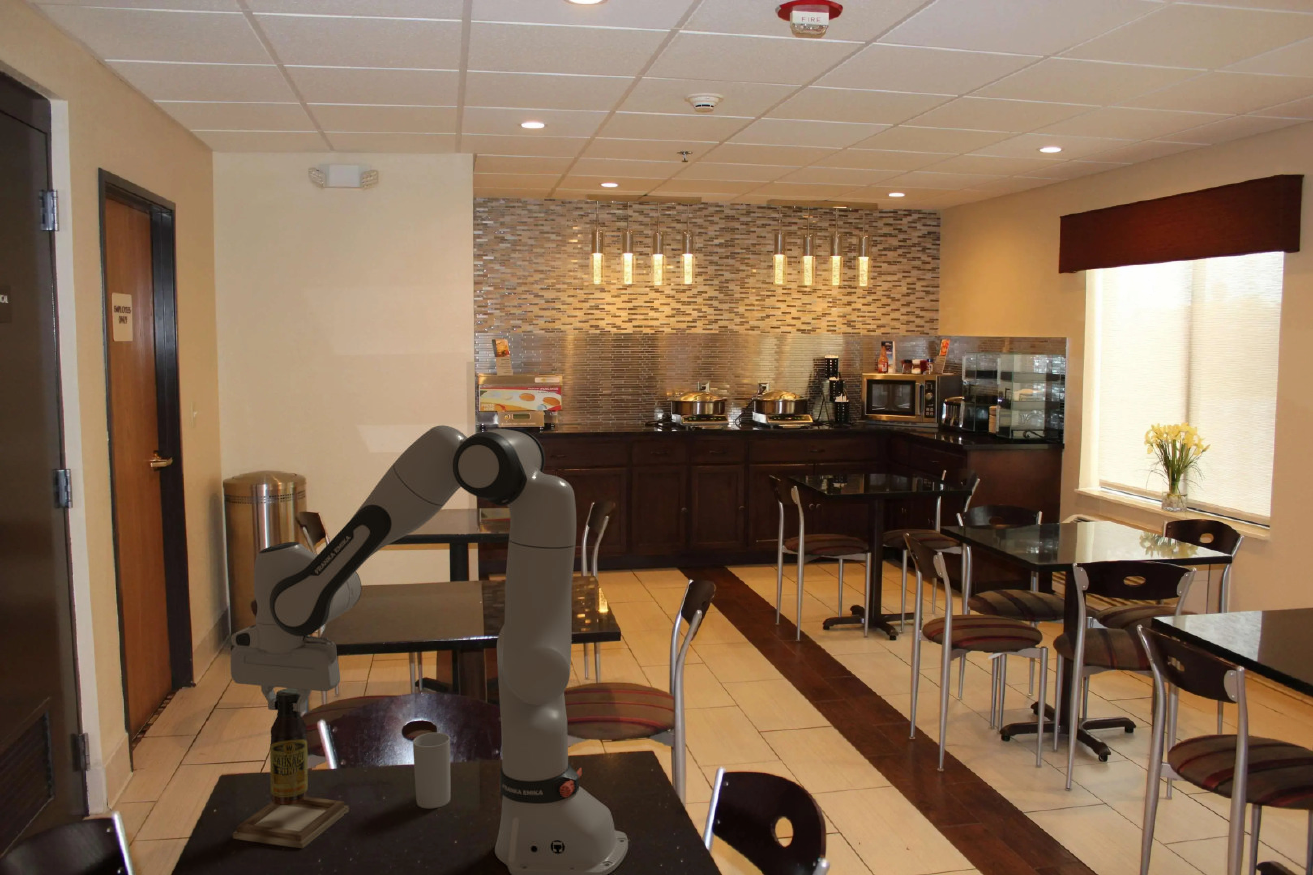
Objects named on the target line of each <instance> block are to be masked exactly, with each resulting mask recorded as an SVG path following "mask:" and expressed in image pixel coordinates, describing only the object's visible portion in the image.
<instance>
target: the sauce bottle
mask: <svg viewBox="0 0 1313 875" xmlns="http://www.w3.org/2000/svg"><path fill="white" fill-rule="evenodd" d="M275 694H276V700H277V707H278V710H277V712H276V718H275V720H274V722H273V724H272V726H271V727H270V743H269V744H270V745H269V746H270V747H269V750H270V753H269V755H270V756H269V758H270V760H269V762H270V763H269V764H270V766H269V767H270V773H269V774H270V794H271V795H270V796H271V799H270V800H271V802H273V803H275V804H277V805H291V804H294V803H298V802H301V801H302V800H304V798H305V797H307V795H308V787H309V786H308V782H309V780H308V739H307V729H308V728H307V724H306V722H305V720H304V719H303V717H302V716H301V713H298V712H294V711H293V709H294V707H293V703H294V702H297V701H298V699H299V697H300V695H299V694H298V693H297V689H293V688H282V689H280V690H278V691H277V692H275Z"/></svg>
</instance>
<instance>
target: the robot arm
mask: <svg viewBox="0 0 1313 875" xmlns="http://www.w3.org/2000/svg"><path fill="white" fill-rule="evenodd" d="M545 465H546V453H545V449H544V447H543V445H542V444H541V442H540V441H539V440H538V439H537V438H536V437H535V436H534V435H532V434H531V433H529V432H527V431H524V430H521V429H507V428H495V429H490V430H487V431H480V432H477V433H475V434H472V435H471V436H466V435H465V434H464V433H463V432H462V431H460V430H459V429H457V428H455V427H452V426H449V425H443V424H442V425H435V426H434V427H432V428H430V429H428V430H427V431H426V432H424V433H423V434H422V435H421V436H419V437H418V438H417V439H416V440H415V441H414V442H412V443H411V445H409V446H408V448H406V450H404V451H403V452H402V453H401V455H399V456H398V458H397V459H396V460H395V461H394V462H393V463H392V465H391V466H390V467H389V468H388V470H387V471H386V472H385V474H384V475H383V476H382V478H381V479H380V480H379V481H378V482H377V484H375V487H374V488H373V490H372V491H371V492H370V494H368V496H367V498H366V499H365V501H363V503H362V504H361V506H360V507H359V508H358V509H357V511H356V512H355V513H354V514H353V515H352V516H351V518H350V520H349V521H348V522H347V523H346V524H345V525H344V526H343V527H342V529H340V531H339V532H338V533H337V534H336V535H335V536H333V538H332V540H330V542H329V543H328V544H326V546H325V547H324V548H323V549H322V550H321V551H320V552H319V553H318V554H317V553H315V552H313V551H311V550H309V549H308V548H306V546H305V545H303V543H301V542H299V541H290V542H289V541H288V542H283V543H278V544H274V545H271V546H268V547H266V548H264V549H262V550H260V551H259V552H258V553H257V555H256V557H255V559H254V560H255V562H254V568H253V594H254V599H255V602H256V605H257V606H256V607H257V612H256V615H255V624H254V625H251V626H248V627H245V628H243V629H241V630H239V631H237V632H234V633H233V634H231V636H230V641H231V644H232V645H233V646H234V647H232V649H231V651H230V675H231V678H232V680H233V681H234V683H236V684H238V685H239V684H240V685H250V686H260V690H261V693H262V695H263V697H264V698H265V700H266V701H267V709H268V710H269V711H270V710H271V711H278V707H277V700H276V691H275V690H274V689H275V688H282V689H287V688H293V689H297V693H298V694H299V695H300V697H299V699H298V701H297V702H294V703H293V707H294V709H293V711H294V712H298V713H300V714H302V713H304V712H305V711H306V710H307V701H308V698H309V697H310V695H311V693H312V691H316V692H329V691H330V690H333V689H334V688H336V687H337V686H338V685H339V683H340V682H341V673H340V666H339V659H338V656H337V655H338V654H337V652H338V651H337V645H336V644H335V643H334V642H333V641H332V640H331V639H330V638H328V637H326V636H321V637H320V636H313V634H314V633H315V632H316V631H318V630H319V629H321V628H322V627H324V625H326V624H328V623H330V622H331V621H333V620H335V619H336V618H338V617H339V616H341V615H343V614H344V613H346V612H348V611H349V610H350V609H352V608H353V607H354V606H355V605H356V604H357V603H358V602H359V600H360V598H361V594H362V581H361V577H360V575H359V574H358V572H357V571H358V569H360V568H361V566H362V565H363V564H364V563H365V562H366V561H367V560H368V559H369V558H371V557H372V556H373V555H374V554H375V553H377V552H378V551H380V550H382V549H383V548H384V547H386V546H388V545H390V544H392V543H394V542H395V541H397V540H400V539H403V537H405V536H409V535H410V534H411V533H414V532H415V531H417V530H418V529H420V528H422V526H424V525H425V524H427V522H429V521H430V520H431V519H432V518H433V517H435V516H436V514H438V513H439V512H440V511H441V510H442V508H444V506H445V505H446V504H447V503H448V501H449V500H450V499H451V498H452V497H453V496H454V495H455V494H456V492H457V491H458V490H459V489H460V488H462V489H463V490H464V491H465V492H467V493H469V494H471V495H473V496H475V497H476V498H480V499H482V500H485V501H487V502H489V503H492V504H494V505H495V506H498V507H506V506H507V508H508V510H509V516H510V517H509V518H510V521H509V522H510V524H509V525H510V526H509V534H508V535H509V536H508V545H507V556H506V557H507V558H506V571H505V583H504V623H503V626H502V628H501V629H500V632H499V633H498V637H497V641H496V657H497V659H496V660H497V676H498V677H497V678H498V679H497V680H498V682H497V683H498V693H499V694H498V696H499V711H500V712H499V713H500V714H499V715H500V726H501V727H500V729H501V730H500V731H501V758H502V759H501V762H502V763H501V764H502V765H501V767H500V769H499V770H500V771H499V791H500V794H499V795H500V799H501V800H502V802H501V805H502V806H501V815H500V824H499V831H498V835H497V840H496V844H495V847H494V853H495V856H496V857H497V859H498V860H499V861H500V862H502V863H503V864H505V866H507V869H508V872H509V873H510V874H511V875H608V874H610V873H612V872H613V871H614V870H616V869H617V867H619V866H620V864H621V863H622V862H623V860H624V858H625V857H626V854H628V853H627V852H628V849H629V841H628V836H627V834H626V833H625V832H624V831H623V832H622V831H620V830H616V828H615V823H614V820H613V816H612V812H611V810H610V808H608V806H606V805H605V804H604V803H602V801H601V802H600V801H599V799H597V798H595V797H594V796H593V795H591V794H590V793H589V792H588V791H587V790H585V789H584V788H583V787H581V786H580V777H581V776H582V774H583V772H582V767H579V769H578V770H577V771H576V770H574V768H573V767H572V765H571V764H570V762H569V752H568V751H569V745H568V743H569V742H568V741H569V740H568V718H567V716H568V715H567V709H566V700H565V690H566V689H567V688H568V685H569V682H570V678H571V663H572V638H573V637H572V633H573V632H572V630H573V628H572V625H573V622H572V620H573V618H572V616H573V615H572V614H573V612H572V611H573V609H572V607H573V606H572V594H573V593H572V589H573V577H574V576H573V575H574V565H575V564H574V563H575V556H576V555H575V554H576V542H577V541H576V540H577V507H576V498H575V491H574V489H573V487H572V485H571V484H570V483H569V482H568V481H566V480H565V479H564V478H561V477H560V476H559V477H558V476H557V475H552V474H546V473H543V472H544V469H545V467H546V466H545Z"/></svg>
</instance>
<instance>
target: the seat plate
mask: <svg viewBox="0 0 1313 875" xmlns="http://www.w3.org/2000/svg"><path fill="white" fill-rule="evenodd" d="M349 806H350V805H346V804H345V801H343V800H334V799H327V798H320V797H319V798H318V797H311V796H306V797H305V798H304V800H302V801H301V802H298V803H294V804H291V805H277V804H275V803H273V802H272V801H271V802H270V803H268V804H267V805H265V806H264V807H262V809H260V810H259V811H257V812H255V813H254V814H252V815H251V816H250V817H249V818H248V817H247V819H245V820H244V821H243V822H241V823H240V824H238V825H237V826H236V830H235V831H233V832H232V839H235V840H241V841H248V842H254V843H255V842H256V843H262V844H267V845H268V844H269V845H276V846H283V847H289V848H296V849H297V848H298V849H304V848H305V847H306V846H308V845H309V844H310V843H311V842H313V841H314V840H315V839H316V838H318V836H320V835H321V834H322V833H324V832H325V831H326V830H328V828H330V827H331V826H332V825H334V824H335V823H336V822H338V820H340V819H341V818H342V817H344V816H345V815H346V814H347V813H349V812H350V811H349V810H350V807H349ZM345 813H346V814H345ZM344 814H345V815H344Z"/></svg>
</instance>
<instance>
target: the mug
mask: <svg viewBox="0 0 1313 875" xmlns="http://www.w3.org/2000/svg"><path fill="white" fill-rule="evenodd" d="M450 741H451V737H450V735H448V734H446V733H442V732H428V733H424V734H420V735H417V736H416V737H415V738H413V740H412V745H413V746H412V750H413V751H412V752H413V754H412V755H413V766H414V767H413V768H414V783H415V798H416V800H415V801H416V804H417V806H418V807H420V808H423V809H438V808H442V807H444V806H446V805H447V804H449V803H450V801H451V742H450Z"/></svg>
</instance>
